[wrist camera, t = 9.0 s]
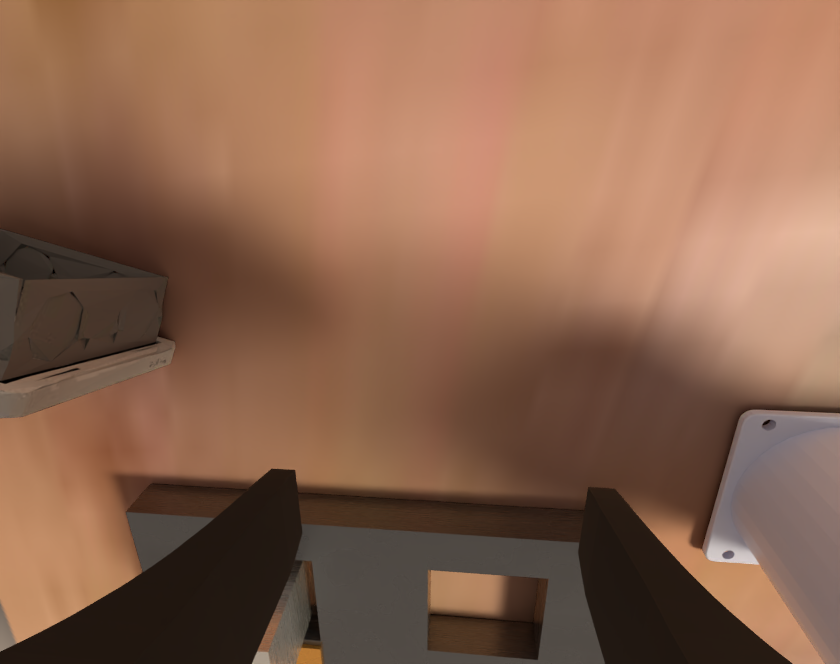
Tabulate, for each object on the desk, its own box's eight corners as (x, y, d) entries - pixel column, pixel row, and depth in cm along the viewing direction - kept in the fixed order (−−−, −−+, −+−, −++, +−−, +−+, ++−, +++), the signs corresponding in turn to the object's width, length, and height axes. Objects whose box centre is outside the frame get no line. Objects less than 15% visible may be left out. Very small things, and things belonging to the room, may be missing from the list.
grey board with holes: (617, 513, 23) (631, 549, 21) (590, 656, 27) (600, 699, 25) (150, 483, 25) (122, 515, 23) (186, 621, 29) (165, 659, 27)
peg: (310, 539, 26) (267, 651, 20) (318, 595, 27) (279, 714, 22) (236, 535, 26) (174, 644, 21) (247, 590, 28) (192, 706, 22)
